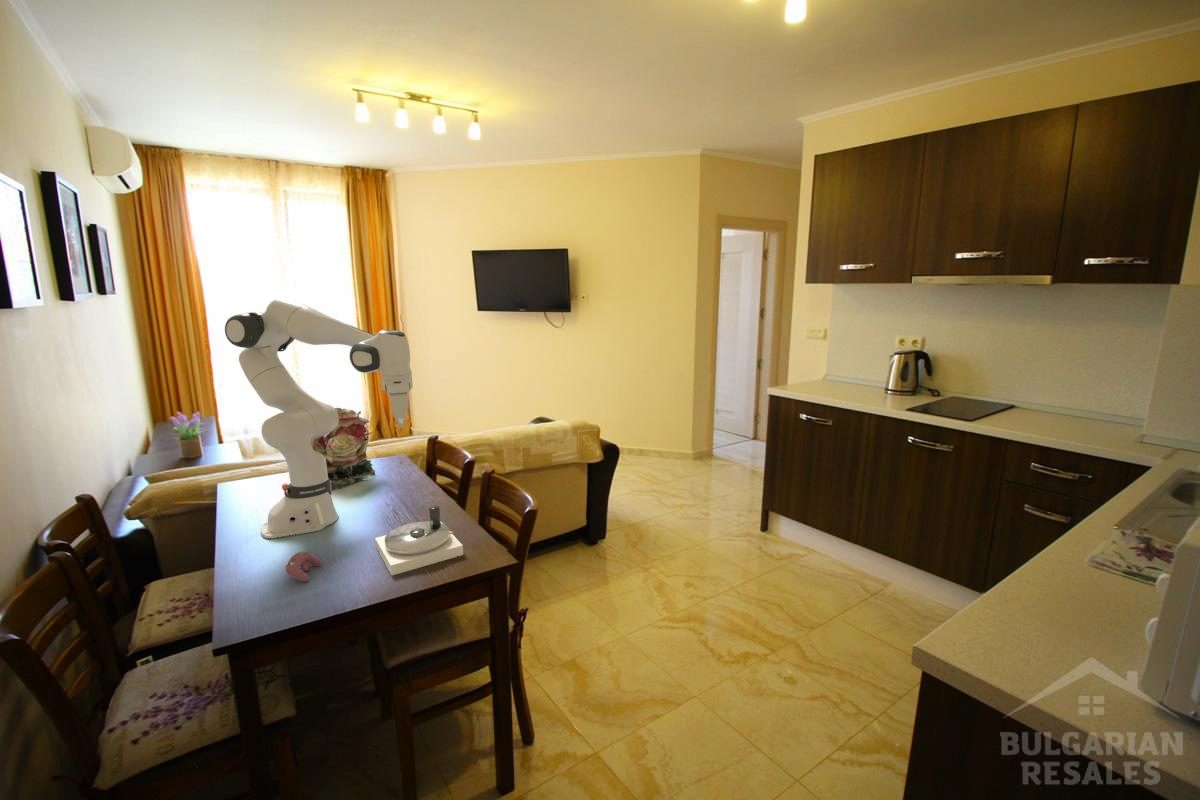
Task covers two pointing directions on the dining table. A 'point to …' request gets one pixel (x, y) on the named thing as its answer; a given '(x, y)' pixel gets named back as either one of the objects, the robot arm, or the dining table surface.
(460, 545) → the wheel base
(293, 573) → the pink curved piece
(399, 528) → the handwheel
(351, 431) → the rose bouquet
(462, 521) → the dining table surface
